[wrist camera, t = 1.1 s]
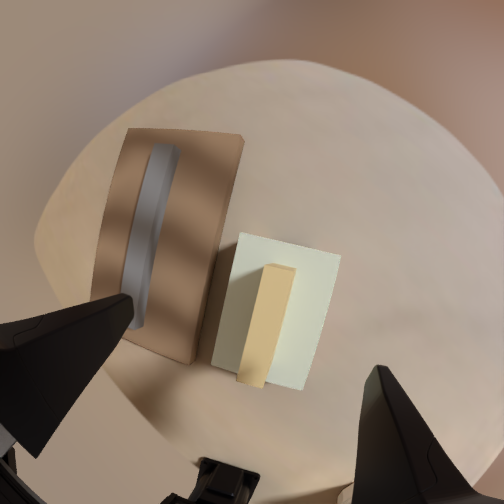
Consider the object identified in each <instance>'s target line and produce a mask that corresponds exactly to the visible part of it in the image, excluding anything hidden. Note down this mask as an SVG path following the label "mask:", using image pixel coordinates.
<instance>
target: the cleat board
mask: <svg viewBox="0 0 504 504" xmlns="http://www.w3.org/2000/svg"><path fill="white" fill-rule="evenodd" d="M244 142H245V141H244V140H243V138H242V136H241V135H238V134H229V133H219V132H208V131H195V130H179V129H151V128H128V131H127V134H126V137H125V140H124V143H123V146H122V149H121V152H120V155H119V158H118V162H117V165H116V169H115V172H114V176H113V179H112V183H111V187H110V191H109V194H108V199H107V203H106V207H105V211H104V216H103V220H102V225H101V230H100V235H99V241H98V246H97V252H96V258H95V265H94V272H93V279H92V288H91V297H90V302H91V301H94V300H98V299H102V298H105V297H109V296H112V295H116V294H120V293H125V294H128V295H130V296H132V298H133V305H134V318H133V320H132V322H131V323H130V325H129V326H128V328H127V330H126V331H125V333H124V334H123V336H122V338H125V339H127V340H129V341H131V342H133V343H135V344H138V345H140V346H142V347H144V348H147V349H149V350H151V351H154V352H156V353H158V354H161V355H163V356H166V357H168V358H171V359H173V360H176V361H178V362H181V363H184V364H186V365H190V364H191V363H192V362H194V361H195V359H196V354H197V348H198V343H199V338H200V333H201V328H202V323H203V318H204V313H205V308H206V304H207V299H208V294H209V289H210V285H211V280H212V275H213V271H214V266H215V262H216V257H217V253H218V248H219V244H220V240H221V235H222V231H223V227H224V222H225V218H226V214H227V210H228V206H229V201H230V197H231V193H232V189H233V185H234V181H235V177H236V173H237V169H238V165H239V161H240V158H241V154H242V150H243V146H244Z"/></svg>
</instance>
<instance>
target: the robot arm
mask: <svg viewBox="0 0 504 504" xmlns="http://www.w3.org/2000/svg"><path fill="white" fill-rule="evenodd" d="M133 318H134V305H133V298H132V296H130V295H128V294H125V293H120V294H116V295H112V296H109V297H105V298H102V299H98V300H94V301H91V302H87V303H84V304H80V305H76V306H73V307H69V308H65V309H62V310H58V311H55V312H51V313H47V314H45V315H40V316H36V317H33V318H29V319H24V320H20V321H15V322H9V323H3V324H0V504H47V503H46V502H44V501H43V500H42V499H41V498H40V497H39V496H38V495H37V494H35V493H34V492H33V491H32V490H31V489H30V488H29V487H28V486H27V485H26V484H25V483H24V482H23V481H22V480H21V479H20V478H19V477H18V476H17V475H16V474H17V469H16V460H15V449H14V448H13V447H12V446H13V445H14V444H15V443H16V442H18V443H19V444H20V445H21V446H22V447H23V448H25V449H26V450H27V451H28V452H29V453H30V454H31V455H32V456H33V457H34V458H35V459H36V458H37V457H38V456H39V454H40V453H41V451H42V450H43V448H44V447H45V445H46V444H47V442H48V441H49V439H50V438H51V436H52V434H53V433H54V432H55V430H56V429H57V427H58V426H59V424H60V422H61V421H62V420H63V418H64V417H65V415H66V414H67V412H68V411H69V410H70V408H71V407H72V406H73V404H74V403H75V401H76V400H77V398H78V397H79V396H80V394H81V393H82V392H83V390H84V389H85V387H86V386H87V385H88V383H89V382H90V380H91V379H92V378H93V376H94V375H95V374H96V372H97V371H98V370H99V369H100V367H101V366H102V365H103V363H104V362H105V361H106V359H107V358H108V357H109V355H110V354H111V353H112V351H113V350H114V349H115V347H116V346H117V344H118V343H119V341H120V339H121V338H122V336H123V334H124V333H125V331H126V330H127V328H128V326H129V325H130V323H131V322H132V320H133ZM259 479H260V475H259V474H257V473H254V472H250V471H246V470H243V469H239V468H236V467H232V466H229V465H226V464H223V463H220V462H217V461H214V460H211V459H208V458H203V459H202V461H201V465H200V470H199V474H198V478H197V483H196V486H195V488H194V490H193V492H192V493H191V495H190V496H189V498H188V499H185V498H182V497H180V496H178V495H177V494H174V493H171V495H169V496H167V497H166V498H165V499H164V500H163V501H162V502H161V503H160V504H248V503H249V501H250V499H251V497H252V495H253V493H254V490H255V488H256V486H257V484H258V482H259ZM351 504H504V500H501V499H497V498H492V497H489V496H485V495H482V494H480V493H478V492H477V491H475V490H474V489H473V488H472V487H471V486H470V485H469V483H468V482H467V481H466V479H465V478H464V477H463V475H462V474H461V473H460V472H459V470H458V469H457V468H456V466H455V465H454V464H453V462H452V461H451V460H450V458H449V457H448V456H447V454H446V453H445V451H444V450H443V448H442V447H441V445H440V444H439V442H438V441H437V439H436V438H435V437H434V435H433V433H432V431H431V430H430V428H429V427H428V425H427V424H426V422H425V421H424V419H423V418H422V416H421V415H420V413H419V412H418V410H417V409H416V407H415V406H414V404H413V403H412V401H411V400H410V398H409V397H408V395H407V394H406V392H405V391H404V390H403V388H402V387H401V385H400V384H399V382H398V381H397V379H396V378H395V377H394V375H393V374H392V372H391V371H390V369H389V368H388V367H387V366H383V365H376V366H375V367H374V368H373V370H372V372H371V373H370V375H369V377H368V378H367V380H366V382H365V386H364V394H363V401H362V408H361V414H360V420H359V431H358V447H357V459H356V469H355V478H354V487H353V494H352V501H351Z"/></svg>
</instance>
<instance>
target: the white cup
mask: <svg viewBox="0 0 504 504" xmlns="http://www.w3.org/2000/svg"><path fill="white" fill-rule="evenodd" d="M353 487H354V483H353V484H351V485H349V486H348V487H346V488H345V489H343V490H342V492H341V493H340V494H339V496H338V497H337V504H351V501H352V494H353Z"/></svg>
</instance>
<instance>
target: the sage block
mask: <svg viewBox="0 0 504 504" xmlns="http://www.w3.org/2000/svg"><path fill="white" fill-rule="evenodd" d="M340 259H341V255H337V254H332V253H328V252H324V251H320V250H316V249H311V248H307V247H303V246H299V245H294V244H290V243H286V242H281V241H277V240H273V239H268V238H264V237H259V236H255V235H251V234H246V233H242V232H240V235H239V239H238V244H237V248H236V252H235V257H234V261H233V265H232V270H231V274H230V279H229V283H228V288H227V292H226V297H225V301H224V306H223V310H222V315H221V319H220V324H219V328H218V333H217V338H216V342H215V347H214V352H213V356H212V361H211V365H213V366H216V367H219V368H222V369H225V370H228V371H231V372H234V373H238V375H237V379H236V381H238V382H241V383H244V384H248V385H251V386H255V387H258V388H262V389H263V386H264V383H265V381H266V382H269V383H273V384H277V385H281V386H285V387H289V388H293V389H298V390H303V387H304V384H305V381H306V378H307V375H308V372H309V369H310V366H311V363H312V360H313V357H314V354H315V351H316V348H317V345H318V341H319V338H320V335H321V331H322V328H323V324H324V321H325V317H326V314H327V310H328V307H329V303H330V299H331V295H332V292H333V288H334V284H335V280H336V276H337V272H338V267H339V263H340Z"/></svg>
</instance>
